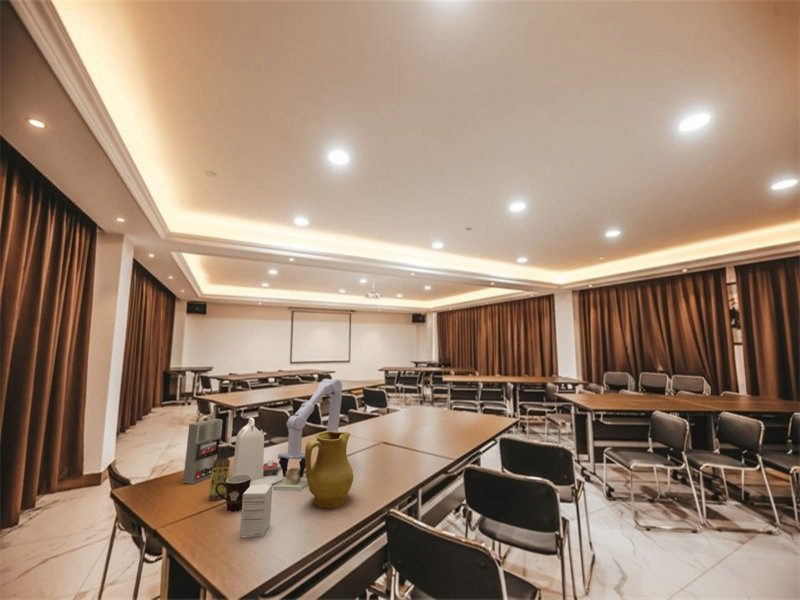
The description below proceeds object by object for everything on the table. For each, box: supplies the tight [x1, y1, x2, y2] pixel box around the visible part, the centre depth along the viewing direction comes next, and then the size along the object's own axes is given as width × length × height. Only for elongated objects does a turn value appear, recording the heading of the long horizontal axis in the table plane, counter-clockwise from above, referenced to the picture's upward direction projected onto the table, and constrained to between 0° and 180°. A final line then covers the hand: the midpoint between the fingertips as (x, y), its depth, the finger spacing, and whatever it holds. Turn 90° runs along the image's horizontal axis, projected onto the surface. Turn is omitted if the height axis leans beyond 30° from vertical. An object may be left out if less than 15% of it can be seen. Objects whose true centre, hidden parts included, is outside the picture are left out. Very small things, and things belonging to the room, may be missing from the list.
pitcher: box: [304, 431, 354, 509], centre depth 126 cm, size 17×19×25 cm
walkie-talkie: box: [263, 459, 282, 478], centre depth 160 cm, size 9×4×20 cm
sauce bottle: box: [208, 443, 231, 501], centre depth 129 cm, size 6×6×20 cm
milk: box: [231, 417, 265, 481], centre depth 152 cm, size 12×12×26 cm
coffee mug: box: [215, 475, 252, 513], centre depth 120 cm, size 12×9×10 cm
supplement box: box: [239, 483, 273, 538], centre depth 104 cm, size 7×7×13 cm
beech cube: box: [285, 467, 301, 485], centre depth 141 cm, size 5×5×5 cm
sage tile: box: [272, 476, 308, 491], centre depth 141 cm, size 12×12×1 cm
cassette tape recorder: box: [182, 418, 223, 485], centre depth 150 cm, size 14×6×25 cm, turn 161°
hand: (293, 476), depth 141 cm, fingers open, 7 cm apart
